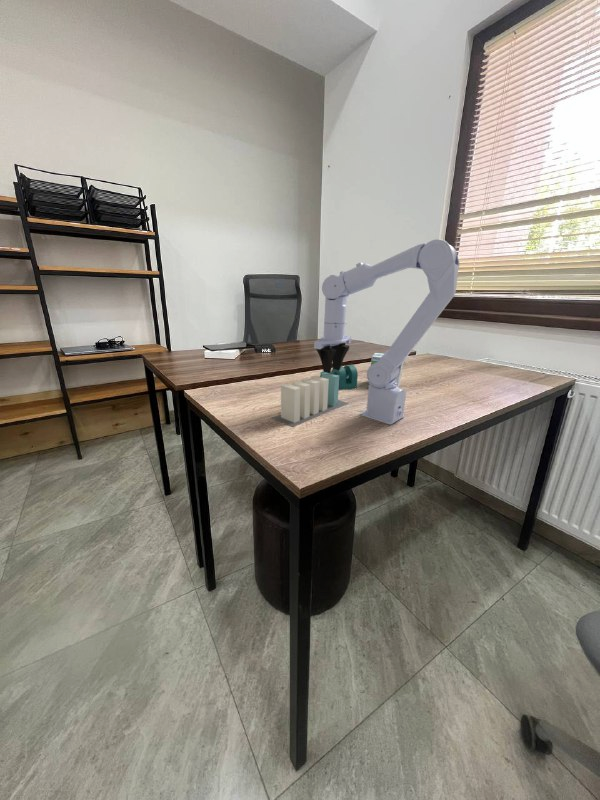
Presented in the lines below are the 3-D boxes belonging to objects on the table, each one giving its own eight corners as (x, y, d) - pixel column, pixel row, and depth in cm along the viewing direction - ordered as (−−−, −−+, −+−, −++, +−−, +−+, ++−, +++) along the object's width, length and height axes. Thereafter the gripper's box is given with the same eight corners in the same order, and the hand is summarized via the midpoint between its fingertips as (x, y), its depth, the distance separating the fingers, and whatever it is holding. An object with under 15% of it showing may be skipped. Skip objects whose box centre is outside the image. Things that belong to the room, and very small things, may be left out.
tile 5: (299, 420, 80) (300, 387, 77) (294, 422, 79) (294, 389, 76) (286, 415, 83) (286, 383, 80) (281, 417, 82) (280, 385, 79)
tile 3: (318, 412, 85) (319, 381, 82) (313, 414, 84) (314, 383, 81) (305, 408, 88) (306, 378, 85) (300, 409, 87) (301, 379, 84)
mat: (348, 404, 93) (348, 403, 93) (292, 428, 76) (292, 427, 76) (328, 397, 98) (328, 396, 98) (271, 418, 82) (271, 417, 81)
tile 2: (327, 409, 88) (328, 379, 85) (322, 411, 86) (324, 380, 83) (314, 404, 91) (315, 375, 88) (309, 406, 90) (310, 376, 87)
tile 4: (309, 416, 83) (310, 384, 80) (304, 418, 81) (305, 386, 78) (296, 411, 86) (296, 380, 83) (291, 413, 85) (291, 382, 81)
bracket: (356, 389, 108) (358, 367, 105) (339, 391, 106) (341, 368, 103) (332, 375, 124) (333, 356, 121) (317, 377, 121) (318, 357, 118)
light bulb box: (368, 384, 112) (371, 355, 109) (371, 380, 118) (374, 352, 114) (398, 388, 108) (402, 358, 105) (400, 383, 114) (404, 355, 110)
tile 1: (337, 404, 91) (339, 375, 88) (333, 406, 90) (335, 377, 87) (324, 400, 95) (325, 372, 91) (320, 402, 93) (321, 373, 90)
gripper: (338, 320, 92) (335, 364, 97) (306, 323, 82) (304, 372, 87) (358, 322, 88) (354, 368, 92) (326, 325, 78) (324, 377, 82)
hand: (331, 370), depth 89 cm, fingers open, 4 cm apart
